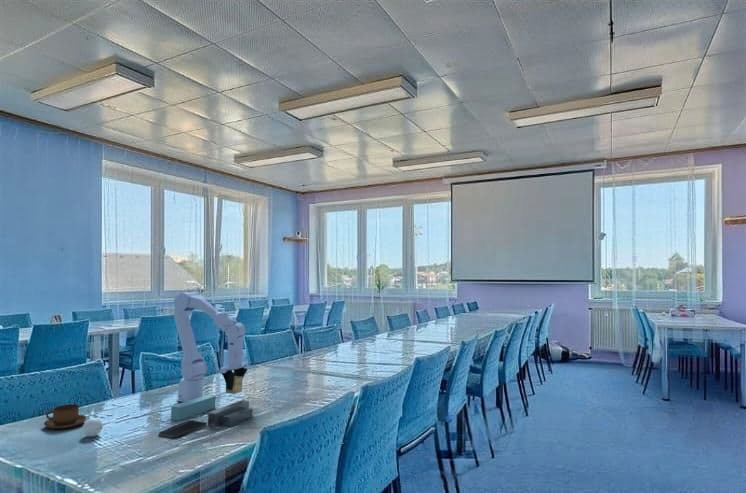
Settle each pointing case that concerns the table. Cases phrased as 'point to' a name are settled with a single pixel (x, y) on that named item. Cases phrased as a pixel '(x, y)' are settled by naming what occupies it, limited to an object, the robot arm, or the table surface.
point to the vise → (230, 414)
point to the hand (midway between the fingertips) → (233, 388)
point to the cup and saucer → (64, 417)
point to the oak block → (236, 385)
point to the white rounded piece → (92, 427)
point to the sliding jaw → (192, 407)
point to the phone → (182, 429)
